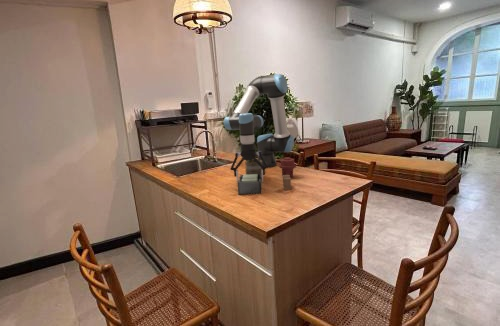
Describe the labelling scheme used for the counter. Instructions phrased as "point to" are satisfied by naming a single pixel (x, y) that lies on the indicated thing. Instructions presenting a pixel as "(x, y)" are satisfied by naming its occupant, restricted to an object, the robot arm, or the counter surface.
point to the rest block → (287, 182)
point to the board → (250, 178)
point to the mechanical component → (287, 166)
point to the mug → (253, 167)
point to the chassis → (249, 186)
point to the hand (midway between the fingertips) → (250, 181)
